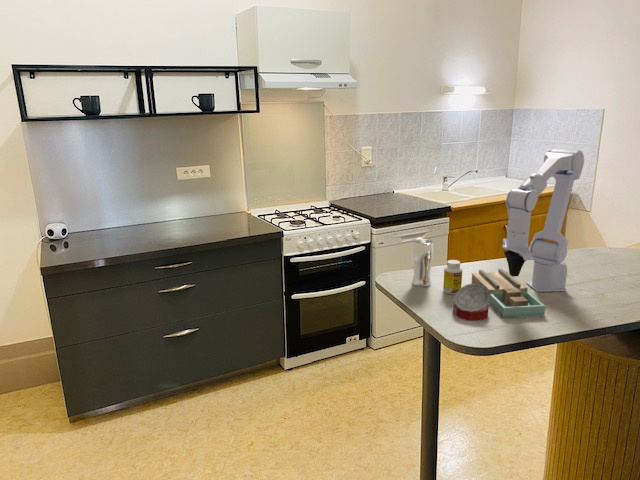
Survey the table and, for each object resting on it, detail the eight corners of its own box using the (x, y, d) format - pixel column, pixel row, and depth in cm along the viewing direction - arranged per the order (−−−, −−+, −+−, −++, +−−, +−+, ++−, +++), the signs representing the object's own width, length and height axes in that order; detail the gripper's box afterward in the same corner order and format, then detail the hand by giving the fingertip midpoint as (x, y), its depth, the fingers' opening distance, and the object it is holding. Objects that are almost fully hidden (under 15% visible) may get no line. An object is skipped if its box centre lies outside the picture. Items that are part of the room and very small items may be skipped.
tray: (526, 300, 149) (527, 291, 148) (544, 315, 139) (545, 305, 138) (488, 302, 148) (488, 293, 148) (503, 317, 138) (503, 308, 137)
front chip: (528, 300, 140) (527, 310, 141) (521, 295, 143) (520, 304, 144) (514, 301, 139) (513, 311, 140) (508, 296, 143) (507, 305, 144)
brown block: (519, 304, 145) (515, 300, 147) (521, 291, 143) (516, 288, 146) (506, 305, 144) (502, 301, 147) (507, 292, 143) (503, 288, 146)
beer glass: (423, 289, 159) (425, 245, 155) (406, 283, 164) (407, 241, 160) (436, 283, 164) (438, 240, 159) (419, 278, 169) (420, 236, 164)
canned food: (487, 330, 141) (502, 308, 135) (456, 331, 139) (469, 309, 132) (473, 299, 149) (486, 278, 143) (443, 300, 147) (454, 278, 140)
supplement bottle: (453, 296, 153) (454, 266, 150) (439, 291, 158) (440, 261, 155) (464, 292, 156) (466, 262, 153) (451, 287, 161) (452, 257, 158)
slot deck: (506, 283, 163) (508, 268, 161) (526, 300, 149) (528, 284, 148) (471, 284, 162) (472, 270, 161) (487, 301, 149) (489, 286, 147)
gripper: (494, 225, 146) (490, 267, 150) (515, 238, 132) (511, 285, 136) (517, 224, 147) (513, 266, 151) (541, 237, 133) (536, 284, 137)
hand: (514, 275), depth 144 cm, fingers closed
